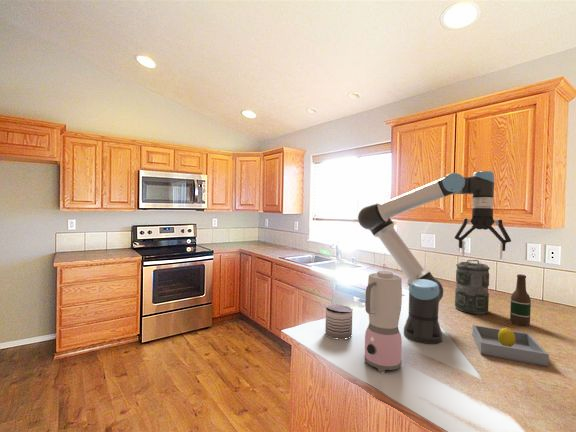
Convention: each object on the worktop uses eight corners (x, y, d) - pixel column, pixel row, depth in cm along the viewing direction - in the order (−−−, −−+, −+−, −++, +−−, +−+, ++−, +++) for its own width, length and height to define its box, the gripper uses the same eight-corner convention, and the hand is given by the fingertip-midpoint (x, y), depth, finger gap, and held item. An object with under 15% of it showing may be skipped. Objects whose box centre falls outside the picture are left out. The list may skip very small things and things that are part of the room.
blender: (379, 352, 111) (381, 267, 110) (408, 366, 101) (411, 273, 100) (350, 363, 102) (352, 271, 101) (379, 380, 92) (382, 278, 91)
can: (320, 331, 130) (321, 304, 129) (342, 327, 134) (343, 301, 134) (333, 341, 119) (334, 312, 119) (357, 337, 123) (358, 309, 123)
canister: (470, 315, 154) (472, 262, 154) (448, 306, 170) (449, 257, 169) (495, 314, 158) (497, 262, 157) (471, 305, 173) (473, 257, 173)
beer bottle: (511, 319, 150) (513, 272, 150) (531, 323, 145) (532, 275, 145) (508, 323, 145) (510, 274, 145) (528, 327, 139) (530, 277, 139)
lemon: (498, 343, 120) (498, 323, 120) (515, 347, 116) (516, 327, 116) (496, 347, 116) (497, 327, 115) (514, 352, 112) (515, 331, 112)
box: (480, 354, 111) (481, 342, 111) (472, 334, 129) (472, 324, 129) (548, 367, 103) (548, 354, 103) (528, 344, 121) (529, 333, 121)
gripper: (450, 207, 128) (448, 255, 128) (521, 208, 117) (519, 261, 118) (448, 207, 134) (447, 253, 135) (515, 208, 124) (514, 258, 125)
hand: (481, 257), depth 126 cm, fingers open, 13 cm apart
